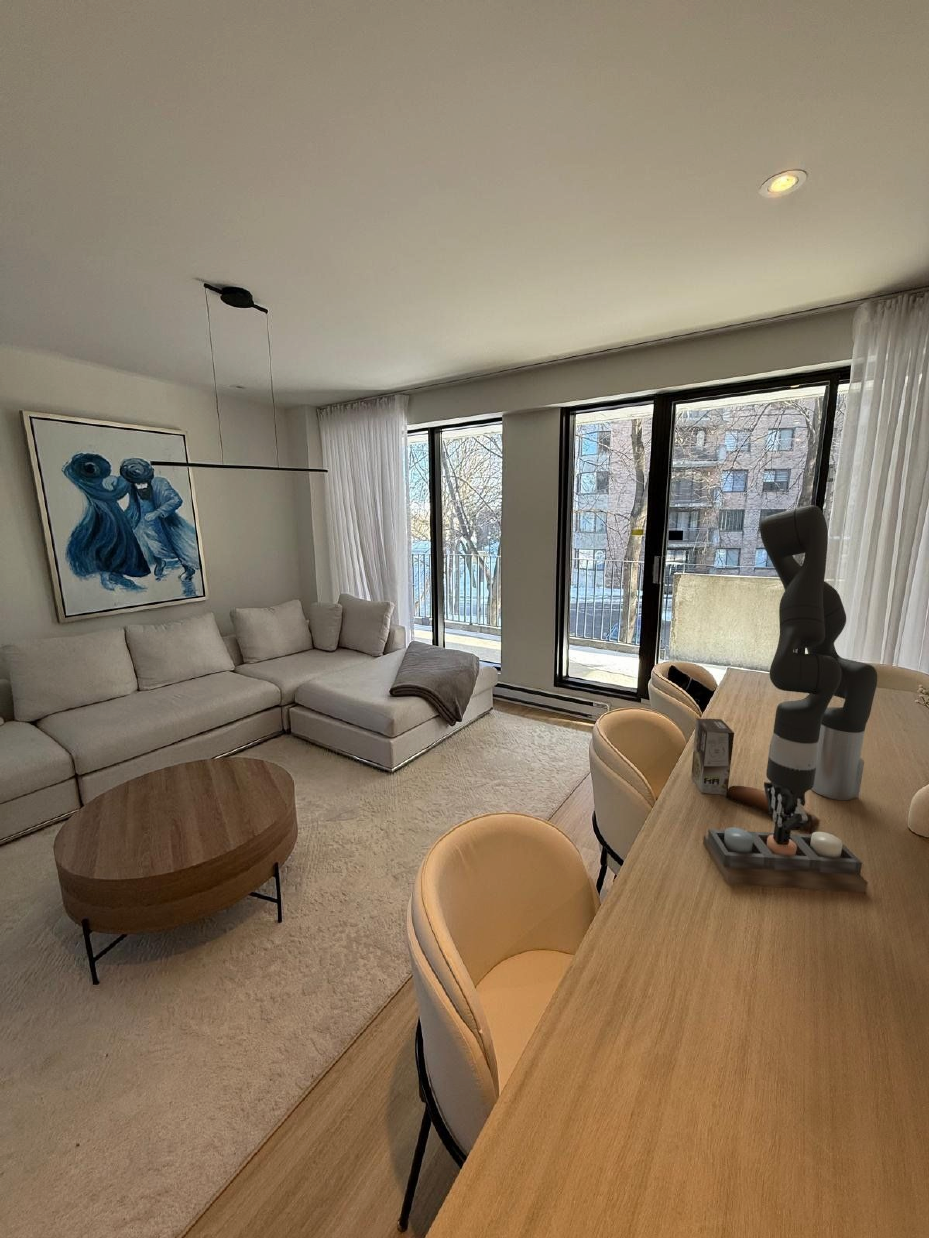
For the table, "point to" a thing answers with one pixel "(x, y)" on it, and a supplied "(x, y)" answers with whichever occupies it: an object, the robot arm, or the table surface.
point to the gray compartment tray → (785, 865)
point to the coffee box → (712, 755)
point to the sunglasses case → (760, 801)
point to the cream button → (826, 845)
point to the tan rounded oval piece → (781, 847)
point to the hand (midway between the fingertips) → (780, 842)
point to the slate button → (738, 840)
